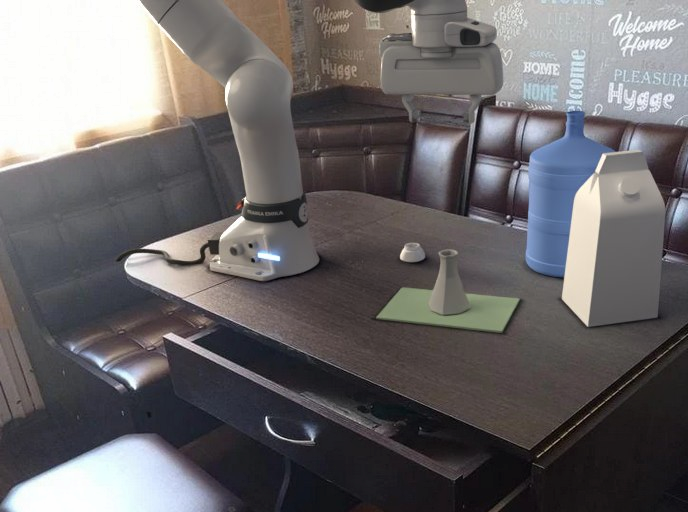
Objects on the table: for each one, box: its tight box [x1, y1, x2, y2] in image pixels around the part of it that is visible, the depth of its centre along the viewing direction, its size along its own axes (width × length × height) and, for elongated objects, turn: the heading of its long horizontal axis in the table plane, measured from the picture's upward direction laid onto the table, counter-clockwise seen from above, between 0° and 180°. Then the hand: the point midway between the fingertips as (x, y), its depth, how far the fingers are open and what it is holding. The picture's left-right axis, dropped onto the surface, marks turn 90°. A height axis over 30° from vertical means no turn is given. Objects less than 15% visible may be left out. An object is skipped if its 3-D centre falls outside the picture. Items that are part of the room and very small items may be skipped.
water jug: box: [525, 110, 616, 279], centre depth 141 cm, size 16×16×28 cm
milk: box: [561, 149, 666, 328], centre depth 124 cm, size 12×12×26 cm
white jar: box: [399, 242, 426, 263], centre depth 154 cm, size 5×3×5 cm
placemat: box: [375, 286, 521, 334], centre depth 134 cm, size 22×13×1 cm, turn 69°
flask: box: [428, 248, 471, 315], centre depth 131 cm, size 7×7×10 cm
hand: (441, 122), depth 129 cm, fingers open, 8 cm apart
